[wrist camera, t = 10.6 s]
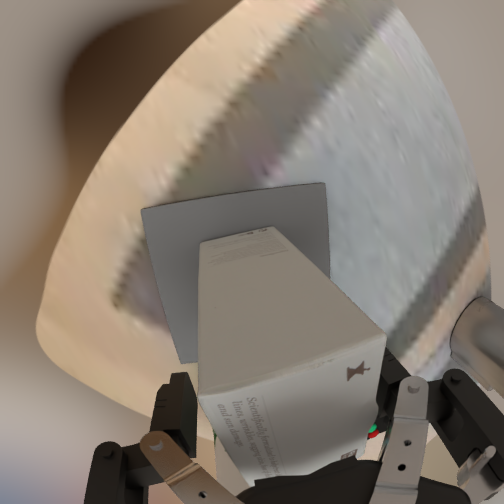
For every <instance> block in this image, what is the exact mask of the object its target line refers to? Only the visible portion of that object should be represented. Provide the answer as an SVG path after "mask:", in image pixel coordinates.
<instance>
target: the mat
mask: <svg viewBox="0 0 504 504" xmlns="http://www.w3.org/2000/svg"><path fill="white" fill-rule="evenodd" d="M141 216H142V221H143V226H144V231H145V236H146V240H147V245H148V250H149V254H150V258H151V263H152V267H153V271H154V275H155V279H156V283H157V287H158V290H159V294H160V298H161V301H162V305H163V309H164V312H165V315H166V319H167V322H168V325H169V329H170V332H171V335H172V338H173V341H174V345H175V348H176V351H177V354H178V357H179V360H180V362H181V364H186V363H195V362H198V277H199V252H200V243H202V242H205V241H210V240H214V239H218V238H222V237H227V236H231V235H235V234H239V233H244V232H248V231H253V230H257V229H262V228H266V227H271V226H274V227H275V228H276V229H277V230H278V231H279V232H280V233H281V234H283V235H284V236H285V237H286V238H287V239H288V240H289V241H290V242H291V243H292V244H293V245H294V246H295V247H296V248H298V249H299V250H300V251H301V252H302V253H303V254H304V255H305V256H306V257H307V258H308V259H309V260H310V261H311V262H312V263H313V264H314V265H315V266H317V267H318V268H319V269H320V270H321V271H322V272H323V273H324V274H325V275H326V276H327V277H328V278H329V279H330V250H329V229H328V213H327V199H326V187H325V183H313V184H303V185H293V186H284V187H276V188H267V189H259V190H252V191H244V192H237V193H230V194H224V195H217V196H211V197H204V198H198V199H192V200H187V201H181V202H175V203H170V204H164V205H159V206H154V207H149V208H144V209H141Z"/></svg>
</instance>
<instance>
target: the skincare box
mask: <svg viewBox="0 0 504 504" xmlns="http://www.w3.org/2000/svg"><path fill="white" fill-rule="evenodd" d="M386 341H387V336H386V334H385V332H384V331H383V330H382V329H380V328H379V327H378V326H377V325H376V324H375V323H374V322H373V321H372V320H371V319H370V318H369V317H368V316H367V315H366V314H365V313H364V312H363V311H362V310H361V309H360V308H359V307H358V306H357V305H356V304H355V303H354V302H353V301H352V300H351V299H350V298H349V297H348V296H347V295H346V294H345V293H344V292H343V291H341V290H340V289H339V288H338V287H337V286H336V285H335V284H334V283H333V282H332V281H331V280H330V279H329V278H328V277H327V276H326V275H325V274H324V273H323V272H322V271H321V270H320V269H319V268H318V267H317V266H315V265H314V264H313V263H312V262H311V261H310V260H309V259H308V258H307V257H306V256H305V255H304V254H303V253H302V252H301V251H300V250H299V249H298V248H296V247H295V246H294V245H293V244H292V243H291V242H290V241H289V240H288V239H287V238H286V237H285V236H284V235H283V234H281V233H280V232H279V231H278V230H277V229H276V228H275V227H274V226H271V227H266V228H262V229H257V230H253V231H248V232H244V233H239V234H235V235H231V236H227V237H222V238H218V239H214V240H210V241H205V242H202V243H200V252H199V277H198V395H197V399H198V401H199V403H200V405H201V407H202V409H203V411H204V413H205V414H206V416H207V418H208V420H209V422H210V424H211V426H212V428H213V429H214V431H215V433H216V435H217V437H218V438H219V440H220V442H221V444H222V445H223V447H224V449H225V451H226V452H227V454H228V455H229V457H230V459H231V460H232V462H233V463H234V465H235V466H236V468H237V469H238V471H239V472H240V474H241V475H242V477H243V478H244V479H245V481H246V482H247V483H248V485H249V486H250V487H252V486H255V483H254V480H257V479H263V478H269V477H275V476H288V475H308V474H310V473H313V472H315V471H316V470H318V469H320V468H322V467H324V466H326V465H328V464H330V463H332V462H335V461H338V460H341V459H344V458H347V457H350V456H353V455H355V457H356V459H357V458H359V457H361V456H363V454H364V451H365V447H366V442H367V437H368V433H369V430H370V428H371V427H372V425H373V424H374V422H375V420H376V417H377V415H378V405H377V403H376V394H377V389H378V383H379V378H380V373H381V367H382V361H383V356H384V351H385V347H386Z"/></svg>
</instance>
